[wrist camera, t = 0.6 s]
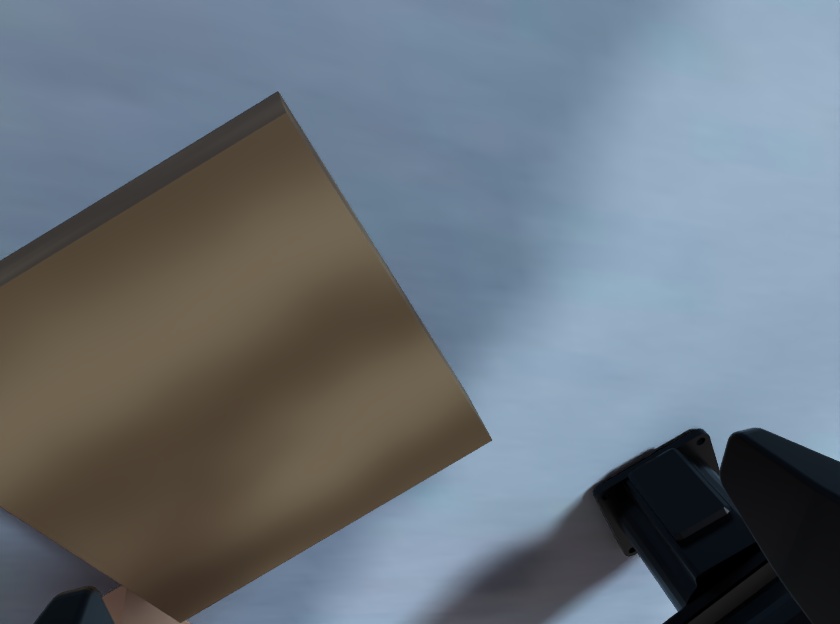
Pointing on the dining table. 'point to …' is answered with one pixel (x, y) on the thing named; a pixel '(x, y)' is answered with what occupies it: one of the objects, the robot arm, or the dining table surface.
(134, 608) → the terracotta cube
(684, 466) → the robot arm
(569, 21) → the dining table surface
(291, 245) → the walnut base
